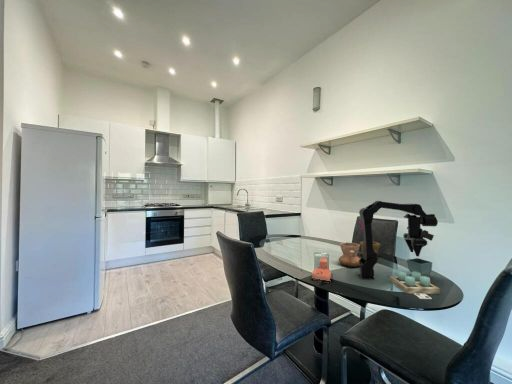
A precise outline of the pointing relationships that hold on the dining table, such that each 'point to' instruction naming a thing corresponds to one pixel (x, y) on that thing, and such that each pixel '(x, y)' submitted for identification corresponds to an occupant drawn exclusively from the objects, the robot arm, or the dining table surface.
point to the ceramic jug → (349, 254)
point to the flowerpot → (375, 244)
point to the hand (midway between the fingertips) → (414, 254)
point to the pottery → (322, 271)
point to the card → (422, 296)
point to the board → (417, 288)
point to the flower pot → (420, 266)
